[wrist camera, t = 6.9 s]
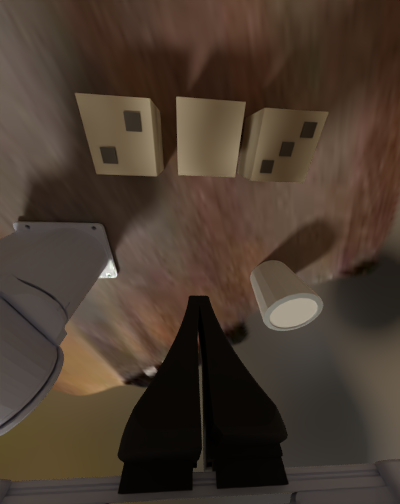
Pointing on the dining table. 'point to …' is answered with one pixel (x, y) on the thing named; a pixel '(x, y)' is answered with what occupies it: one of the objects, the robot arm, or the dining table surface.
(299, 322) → the cream short cylinder
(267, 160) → the dotted block three
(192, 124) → the plain block
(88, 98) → the dotted block two
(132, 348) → the dining table surface
